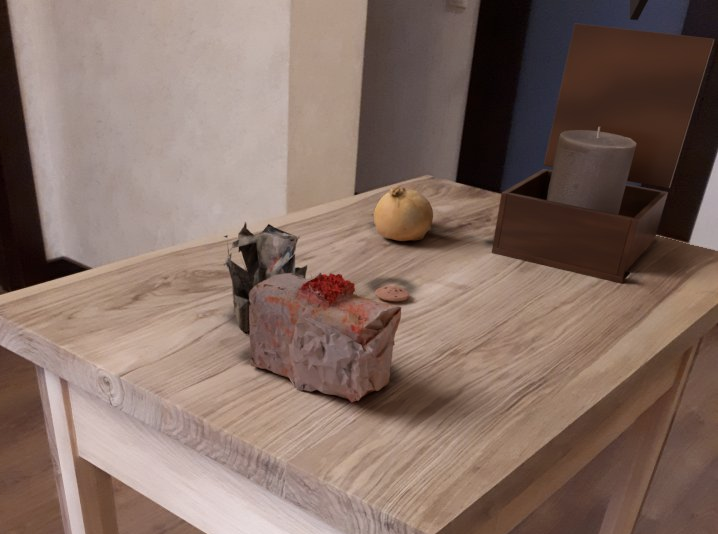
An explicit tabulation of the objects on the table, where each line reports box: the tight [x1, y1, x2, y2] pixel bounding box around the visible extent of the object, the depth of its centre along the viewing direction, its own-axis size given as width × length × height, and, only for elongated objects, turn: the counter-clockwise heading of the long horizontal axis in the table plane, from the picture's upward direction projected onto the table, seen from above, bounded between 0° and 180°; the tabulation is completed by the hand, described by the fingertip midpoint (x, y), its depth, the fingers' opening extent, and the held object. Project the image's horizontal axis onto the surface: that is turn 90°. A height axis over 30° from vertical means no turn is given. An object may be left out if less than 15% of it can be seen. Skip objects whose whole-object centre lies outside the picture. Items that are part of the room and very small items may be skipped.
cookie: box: [374, 285, 411, 302], centre depth 91 cm, size 4×4×1 cm
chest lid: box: [543, 22, 715, 189], centre depth 106 cm, size 18×18×1 cm
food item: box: [248, 272, 402, 403], centre depth 71 cm, size 14×8×10 cm, turn 58°
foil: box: [223, 221, 313, 333], centre depth 85 cm, size 12×11×15 cm
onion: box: [373, 184, 434, 242], centre depth 107 cm, size 8×8×7 cm
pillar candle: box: [547, 126, 637, 215], centre depth 104 cm, size 10×10×15 cm
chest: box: [491, 168, 669, 284], centre depth 107 cm, size 17×18×8 cm
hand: (703, 12), depth 76 cm, fingers open, 13 cm apart
